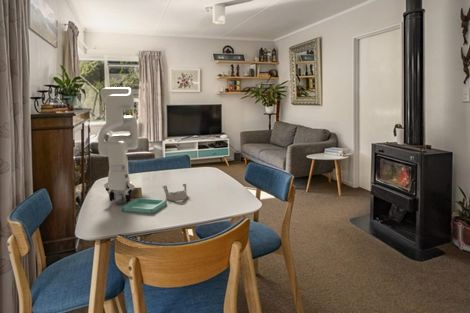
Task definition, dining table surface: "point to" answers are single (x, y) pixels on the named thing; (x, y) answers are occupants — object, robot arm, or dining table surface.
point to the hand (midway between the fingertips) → (120, 201)
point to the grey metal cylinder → (120, 198)
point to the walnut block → (136, 193)
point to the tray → (144, 205)
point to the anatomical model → (176, 194)
